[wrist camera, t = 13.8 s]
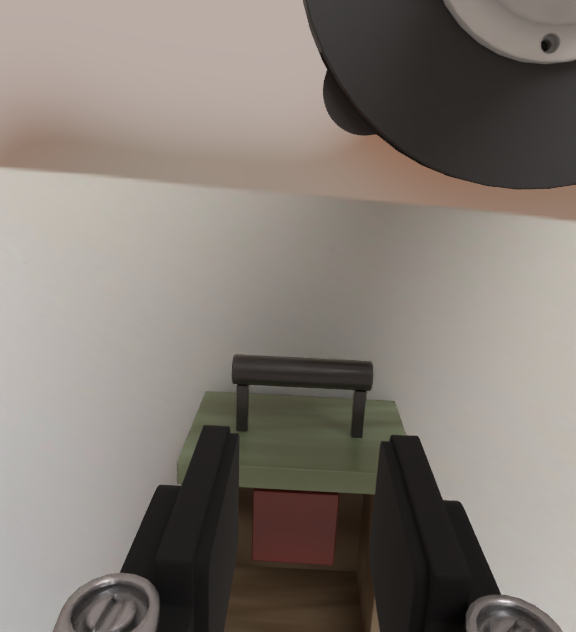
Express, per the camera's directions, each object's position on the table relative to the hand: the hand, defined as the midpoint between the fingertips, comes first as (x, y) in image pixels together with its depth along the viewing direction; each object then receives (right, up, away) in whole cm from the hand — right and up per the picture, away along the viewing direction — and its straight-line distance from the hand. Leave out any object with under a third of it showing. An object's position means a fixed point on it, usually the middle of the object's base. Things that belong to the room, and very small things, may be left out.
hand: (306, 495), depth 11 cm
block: (0, -6, +22) cm, 23 cm away
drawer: (0, -5, +23) cm, 23 cm away
